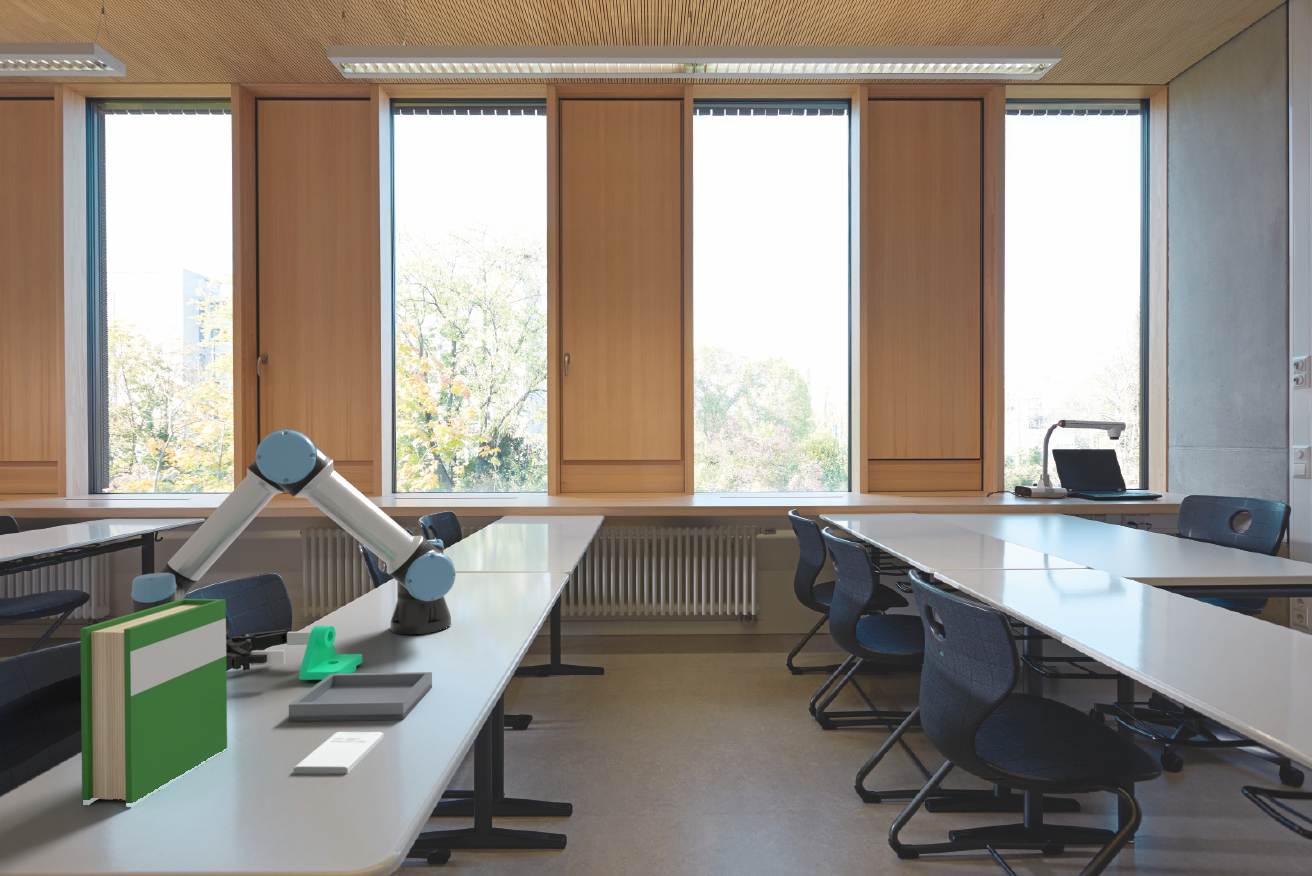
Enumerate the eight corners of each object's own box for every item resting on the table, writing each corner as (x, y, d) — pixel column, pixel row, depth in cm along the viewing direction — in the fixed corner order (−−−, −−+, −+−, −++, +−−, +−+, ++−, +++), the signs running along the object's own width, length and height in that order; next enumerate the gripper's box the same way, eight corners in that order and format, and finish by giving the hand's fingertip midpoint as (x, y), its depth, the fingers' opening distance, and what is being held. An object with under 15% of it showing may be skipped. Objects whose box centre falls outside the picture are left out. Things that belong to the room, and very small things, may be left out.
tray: (331, 689, 137) (330, 673, 137) (432, 687, 137) (431, 672, 137) (289, 721, 121) (288, 704, 121) (403, 719, 121) (403, 702, 121)
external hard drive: (293, 777, 102) (335, 740, 114) (347, 777, 102) (384, 741, 114) (293, 766, 102) (335, 730, 114) (347, 766, 102) (383, 731, 114)
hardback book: (131, 808, 93) (130, 629, 93) (82, 805, 94) (80, 628, 94) (227, 749, 110) (225, 599, 110) (184, 748, 111) (183, 598, 111)
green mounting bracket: (336, 685, 140) (335, 634, 140) (299, 684, 140) (298, 634, 140) (364, 665, 152) (363, 619, 152) (330, 665, 152) (329, 619, 152)
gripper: (236, 648, 158) (329, 647, 158) (158, 687, 133) (269, 686, 133) (236, 615, 158) (329, 614, 158) (158, 648, 133) (268, 647, 133)
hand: (302, 647), depth 146 cm, fingers open, 13 cm apart
